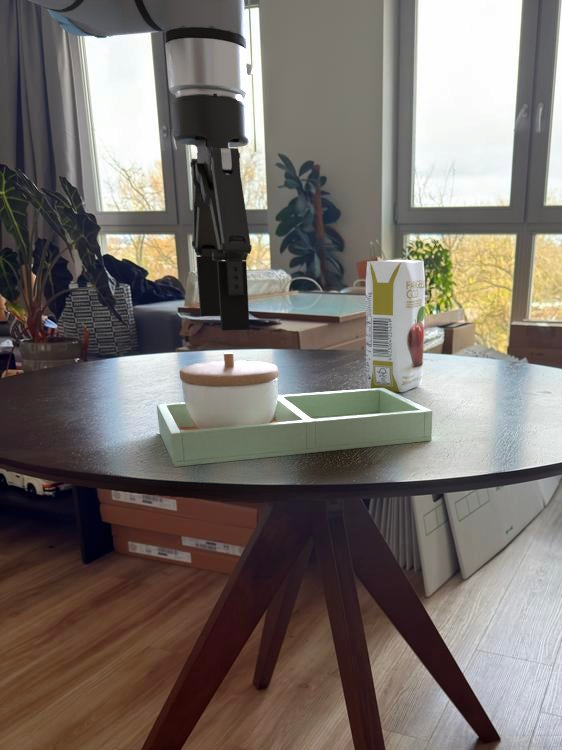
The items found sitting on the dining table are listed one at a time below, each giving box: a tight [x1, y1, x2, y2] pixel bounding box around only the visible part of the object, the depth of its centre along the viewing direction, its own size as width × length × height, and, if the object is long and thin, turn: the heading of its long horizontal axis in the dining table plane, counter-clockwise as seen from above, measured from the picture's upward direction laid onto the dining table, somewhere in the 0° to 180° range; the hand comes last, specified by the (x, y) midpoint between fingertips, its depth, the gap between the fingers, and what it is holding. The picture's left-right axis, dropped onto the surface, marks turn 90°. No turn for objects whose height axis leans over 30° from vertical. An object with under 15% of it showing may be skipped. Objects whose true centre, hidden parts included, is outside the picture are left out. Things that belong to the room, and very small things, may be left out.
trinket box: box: [179, 351, 280, 429], centre depth 81 cm, size 11×11×9 cm
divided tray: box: [156, 388, 433, 468], centre depth 85 cm, size 29×15×4 cm, turn 112°
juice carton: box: [365, 259, 426, 393], centre depth 111 cm, size 8×9×19 cm
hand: (223, 322), depth 78 cm, fingers open, 13 cm apart
